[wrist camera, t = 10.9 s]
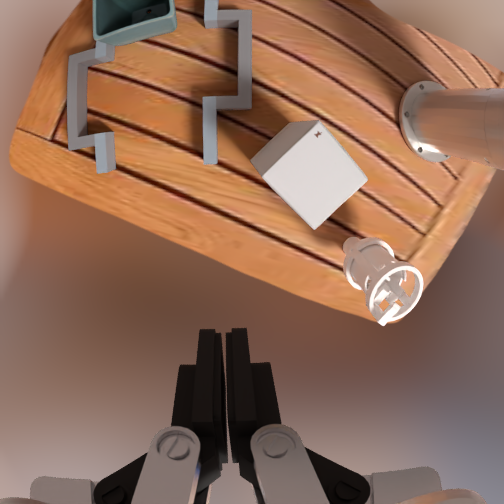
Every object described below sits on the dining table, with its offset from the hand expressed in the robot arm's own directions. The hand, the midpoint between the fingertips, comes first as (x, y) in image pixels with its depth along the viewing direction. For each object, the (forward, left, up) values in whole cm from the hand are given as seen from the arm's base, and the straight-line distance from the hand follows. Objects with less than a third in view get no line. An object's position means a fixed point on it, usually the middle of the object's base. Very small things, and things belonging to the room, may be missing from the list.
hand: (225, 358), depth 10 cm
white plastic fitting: (-18, +8, -29) cm, 35 cm away
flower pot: (+10, -24, -29) cm, 39 cm away
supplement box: (-8, -4, -29) cm, 31 cm away
